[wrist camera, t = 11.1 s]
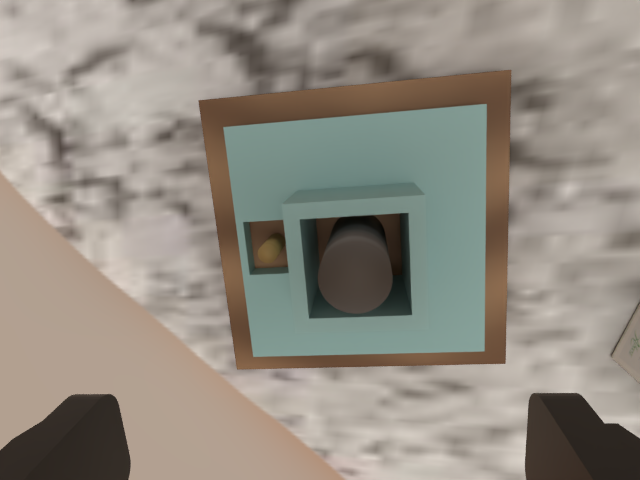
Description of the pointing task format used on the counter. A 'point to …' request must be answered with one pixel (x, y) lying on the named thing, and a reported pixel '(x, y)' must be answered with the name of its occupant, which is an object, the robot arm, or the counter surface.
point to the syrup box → (630, 347)
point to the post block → (368, 230)
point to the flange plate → (357, 200)
